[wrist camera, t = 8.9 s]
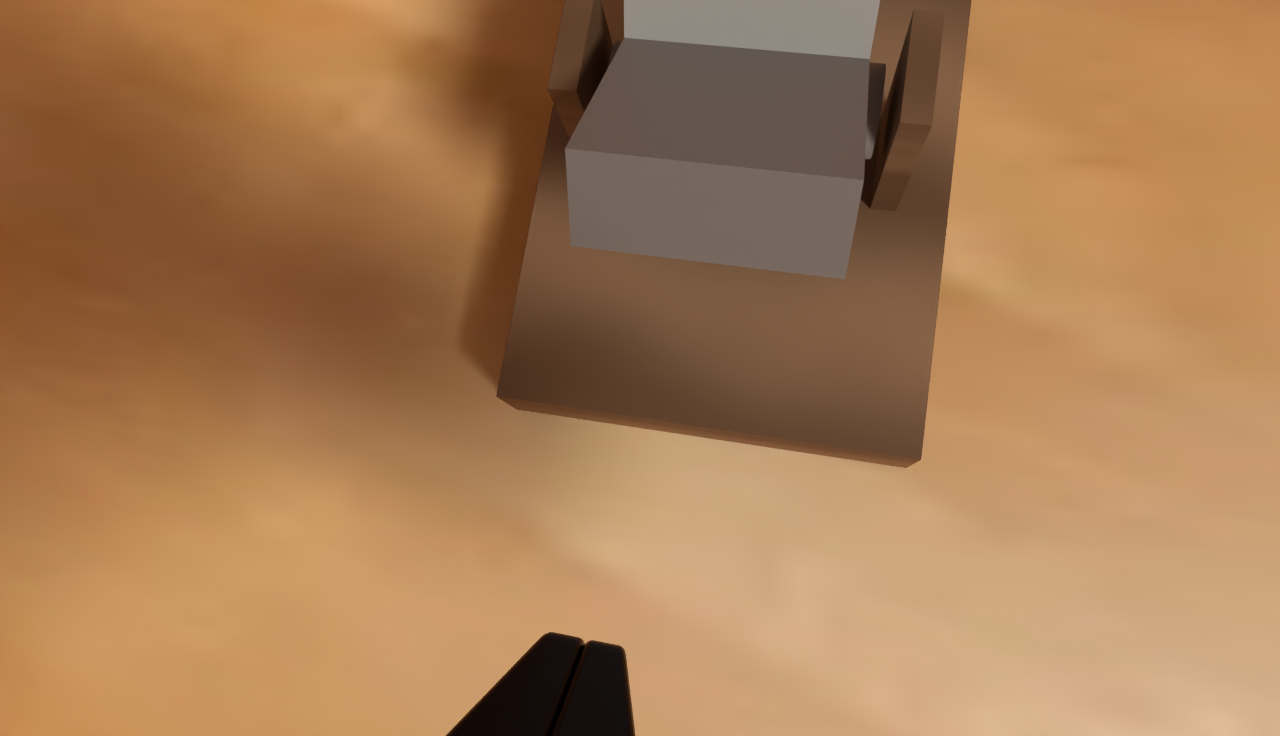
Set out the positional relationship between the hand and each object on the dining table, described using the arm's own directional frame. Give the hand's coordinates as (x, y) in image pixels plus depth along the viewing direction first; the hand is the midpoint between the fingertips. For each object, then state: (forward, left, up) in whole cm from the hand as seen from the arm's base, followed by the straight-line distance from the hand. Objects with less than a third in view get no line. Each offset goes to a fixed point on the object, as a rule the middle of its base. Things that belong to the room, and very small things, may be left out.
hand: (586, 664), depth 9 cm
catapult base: (+10, +5, -13) cm, 17 cm away
